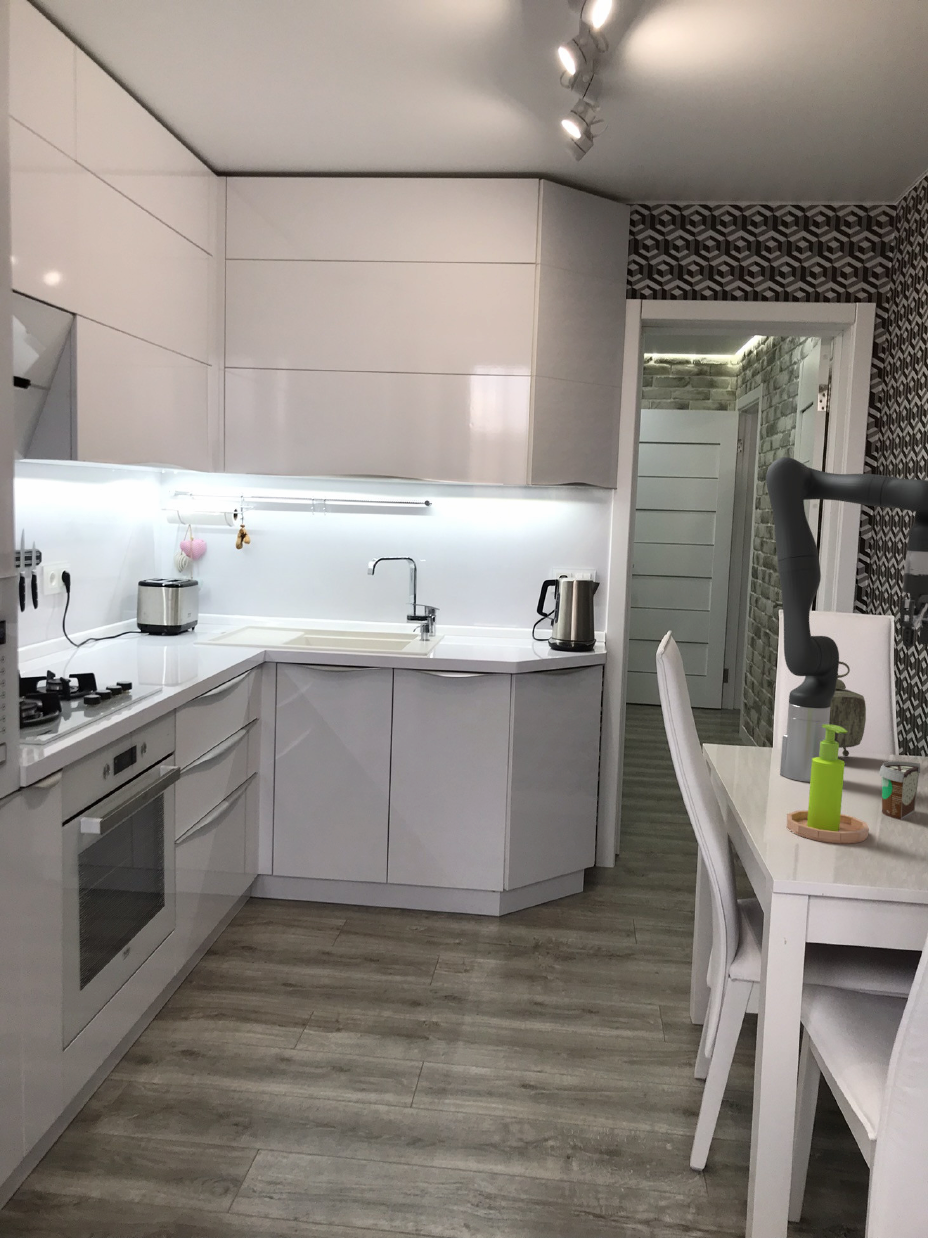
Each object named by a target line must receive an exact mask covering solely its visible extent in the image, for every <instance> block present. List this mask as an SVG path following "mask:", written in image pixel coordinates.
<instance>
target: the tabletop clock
mask: <svg viewBox="0 0 928 1238" xmlns="http://www.w3.org/2000/svg"><path fill="white" fill-rule="evenodd" d="M839 665H842V666H845V668H847V672H845V673H844V674H838V675H837V682H836V690H835V694H834V696H833V698H832V700H831V706H830V720H829V724H831V725H837V726H840V727H842V728H844V729H845V730H846V731H848V732H847V733H837V732H835V741H836V742H837V743H839V749H840V748H841V749H843V750H842V753H841V754H842V756H843V757H848V756H849V755H850V751H849V750H847V748H853V747H856V746H859V745H860V744H861V742H862V740H863V737H864V733H865V727H866V723H867V721H866V720H867V719H866V718H867V717H866V716H867V715H866V713H867V712H866V711H867V707H866V700H865V698H864V695H862V694H860V693H857V692H855V691H852V690H850V689H847V687H846V684H845V682H844V681H843V680H841V679H842V678H845V677H847V676H848V675H849V673H850V670H851V669H850V666H849V665H848V664H847V663H846V662H844V661H840V660H839ZM840 678H841V679H840Z"/></svg>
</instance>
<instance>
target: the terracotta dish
mask: <svg viewBox="0 0 928 1238" xmlns="http://www.w3.org/2000/svg"><path fill="white" fill-rule="evenodd" d="M807 819H808V809H806V810H795V811H792V812H789V813H787V814H786V829H787V828H788V829H789V830H791V831H792V832H794V833H795V834H794V833H793V834H794V835H796V834H798V835H797V836H799V837H801V836H802V838H805V837H806V839H809V840H812V841H818V842H823V843H831V844H857V843H861V842H864V841H866V840H867V838H868V836H869V831H870V828H869V825H868V823H867V822H866V821H863V820H861V819H859V818H857V817H855V816H851V815H846V814H843V813H841V814H840V827H839V830H838V831H828V830H819V829H816V828H812V827H808V826H807ZM788 829H787V830H788ZM789 830H788V831H789ZM791 831H790V832H791ZM792 832H791V833H792Z"/></svg>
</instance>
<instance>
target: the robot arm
mask: <svg viewBox="0 0 928 1238" xmlns="http://www.w3.org/2000/svg"><path fill="white" fill-rule="evenodd" d="M765 484H766V489H767V492H768V496H769V497H768V498H769V500H770V502H769V503H770V506H771V510H772V514H773V515H772V516H773V524H774V535H775V536H774V537H775V549H776V559H777V569H778V577H779V582H780V583H779V584H780V592H781V602H782V612H783V613H782V614H783V617H782V618H783V656H784V662H785V664H786V665H785V666H786V667H787V669H788V670H789V672H790V673H791V674H792V675H794V676H797V677H804V680H803V682H802V683H801V684H800V685H798V686H796V688H794V689H792V690H791V691H790V692H789V695H788V709H787V722H786V723H787V724H786V734H783V735H782V737H781V738H782V740H781V754H780V756H781V757H780V767H779V775H780V776H783V777H785V778H787V779H790V780H795V781H800V782H806V783H807V782H809V783H810V779H811V766H812V758H815V757H819V752H820V742H821V741H823V740H825V735H826V728H822V725H824V724H829V720H830V706H831V700H832V698H833V696H834V694H835V690H836V682H837V675H839V673H838V672H839V666H840V664H839V661H840V652H839V651H840V650H839V648H838V644H837V643H836V642H835V640H834V639H832V638H831V637H829V636H826V635H812V633H811V627H810V614H811V608H812V605H813V602H814V600H815V597H816V595H817V593H818V590H819V587H820V583H821V578H822V575H821V566H820V555H819V550H818V546H817V543H816V541H815V538H814V535H813V531H812V529H811V527H810V525H809V524H810V523H809V522H808V519H807V516H806V511H805V510H806V509H805V500H806V501H807V500H824V501H825V500H826V501H839V502H846V503H852V504H857V505H864V506H871V507H877V508H885V509H894V508H896V509H899V510H903V511H911V512H915V514H914V520H913V521H914V522H913V525H912V526H911V527H910V529H909V533H908V539H907V540H908V542H907V552H906V556H905V562H904V572H903V584H902V592H903V593H905V594H909V597H908V598H902V599H901V604H900V605H901V606H900V613H899V622H898V623H899V627H902V629H904V630H903V637H902V638H903V639H902V645H903V646H904V647H908V648H913V647H915V640H916V629H917V625H918V624H920V629H919V636H918V637H919V639H918V643H919V644H920V645H928V480H927V479H917V478H916V479H915V478H914V479H912V478H899V477H895V476H891V475H881V474H872V473H833V472H825V471H822V470H819V469H815V468H811V467H809V466H806V464H804V463H802V462H801V461H799V460H797V459H795V458H791V457H786V456H782V457H779V458H777V459H774V461H772V463H771V464H770V465H769V466H768V469H767V472H766V475H765Z"/></svg>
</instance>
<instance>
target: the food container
mask: <svg viewBox="0 0 928 1238" xmlns="http://www.w3.org/2000/svg"><path fill="white" fill-rule="evenodd" d="M920 773H921V763H920V762H914V761H902V760H901V761H899V760H895V761H894V760H893V761H885V762H883V763H882V765H881V766H880V769H879V772H878V774H879V776H881V780H882V781H881V813H882V814H883V815H885V816H886V817H889V818H893V819H896V820H900V821H901V820H903V819H905V818H907V817H908V816H909V815H910V814H912V813H914V812H915V811H916V802H917V793H918V784H919V778H920Z"/></svg>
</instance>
